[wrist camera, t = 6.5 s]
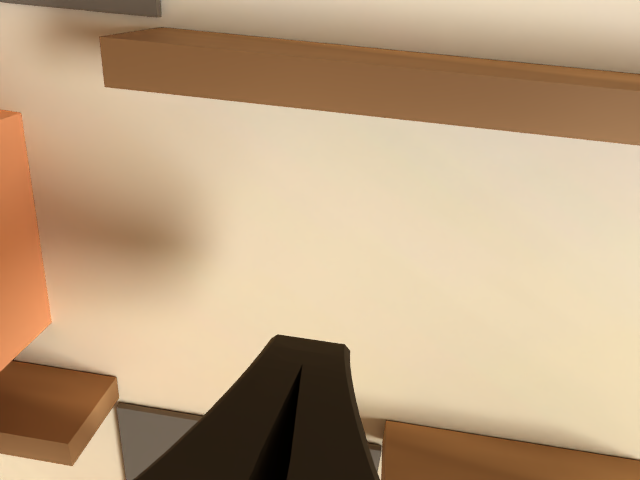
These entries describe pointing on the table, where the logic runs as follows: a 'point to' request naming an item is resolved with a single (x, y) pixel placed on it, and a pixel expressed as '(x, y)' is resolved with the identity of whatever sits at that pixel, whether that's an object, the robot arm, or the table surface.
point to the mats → (134, 421)
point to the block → (18, 247)
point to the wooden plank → (362, 99)
